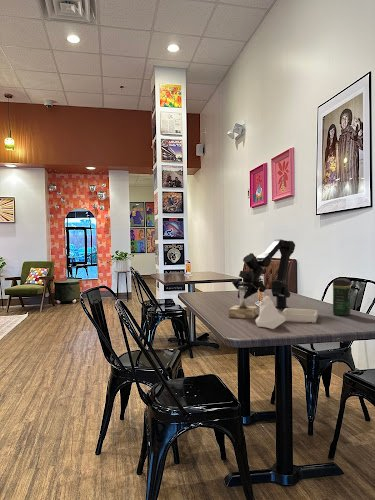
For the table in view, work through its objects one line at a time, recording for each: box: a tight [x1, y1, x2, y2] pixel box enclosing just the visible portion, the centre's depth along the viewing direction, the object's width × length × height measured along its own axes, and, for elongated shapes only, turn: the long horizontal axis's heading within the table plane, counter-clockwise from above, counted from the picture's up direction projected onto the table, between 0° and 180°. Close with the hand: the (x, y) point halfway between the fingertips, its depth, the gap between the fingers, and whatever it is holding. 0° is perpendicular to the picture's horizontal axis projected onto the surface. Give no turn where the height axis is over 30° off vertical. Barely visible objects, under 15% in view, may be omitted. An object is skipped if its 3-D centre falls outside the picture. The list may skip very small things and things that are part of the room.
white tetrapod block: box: [254, 295, 287, 330], centre depth 166 cm, size 12×15×14 cm
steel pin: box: [238, 286, 248, 309], centre depth 190 cm, size 4×4×12 cm
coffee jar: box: [332, 277, 351, 316], centre depth 189 cm, size 10×8×19 cm
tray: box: [280, 307, 319, 324], centre depth 179 cm, size 16×16×4 cm
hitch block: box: [228, 305, 258, 319], centre depth 190 cm, size 12×12×4 cm
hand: (241, 298), depth 189 cm, fingers closed on steel pin, 4 cm apart
